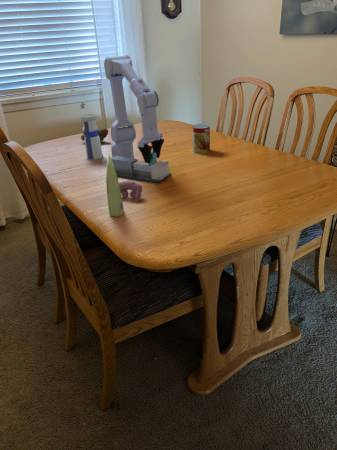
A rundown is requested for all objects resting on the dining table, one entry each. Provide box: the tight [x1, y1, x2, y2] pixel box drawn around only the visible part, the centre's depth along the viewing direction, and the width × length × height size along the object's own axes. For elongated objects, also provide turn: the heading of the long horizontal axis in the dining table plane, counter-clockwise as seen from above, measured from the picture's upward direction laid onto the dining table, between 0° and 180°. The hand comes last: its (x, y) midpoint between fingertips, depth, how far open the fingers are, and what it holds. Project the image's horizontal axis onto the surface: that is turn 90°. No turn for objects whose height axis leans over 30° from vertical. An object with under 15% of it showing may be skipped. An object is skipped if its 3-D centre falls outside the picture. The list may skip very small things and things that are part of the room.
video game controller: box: [119, 181, 143, 203], centre depth 134 cm, size 10×5×7 cm, turn 72°
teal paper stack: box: [131, 151, 158, 172], centre depth 150 cm, size 16×3×8 cm, turn 60°
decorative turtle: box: [80, 127, 109, 144], centre depth 199 cm, size 10×15×8 cm, turn 89°
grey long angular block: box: [111, 156, 172, 185], centre depth 153 cm, size 25×10×6 cm, turn 60°
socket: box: [151, 160, 170, 180], centre depth 148 cm, size 4×7×5 cm, turn 150°
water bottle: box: [79, 101, 104, 160], centre depth 173 cm, size 8×9×25 cm
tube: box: [105, 154, 125, 217], centre depth 120 cm, size 6×5×20 cm
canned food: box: [192, 123, 211, 155], centre depth 175 cm, size 8×8×12 cm
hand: (152, 160), depth 148 cm, fingers open, 6 cm apart
